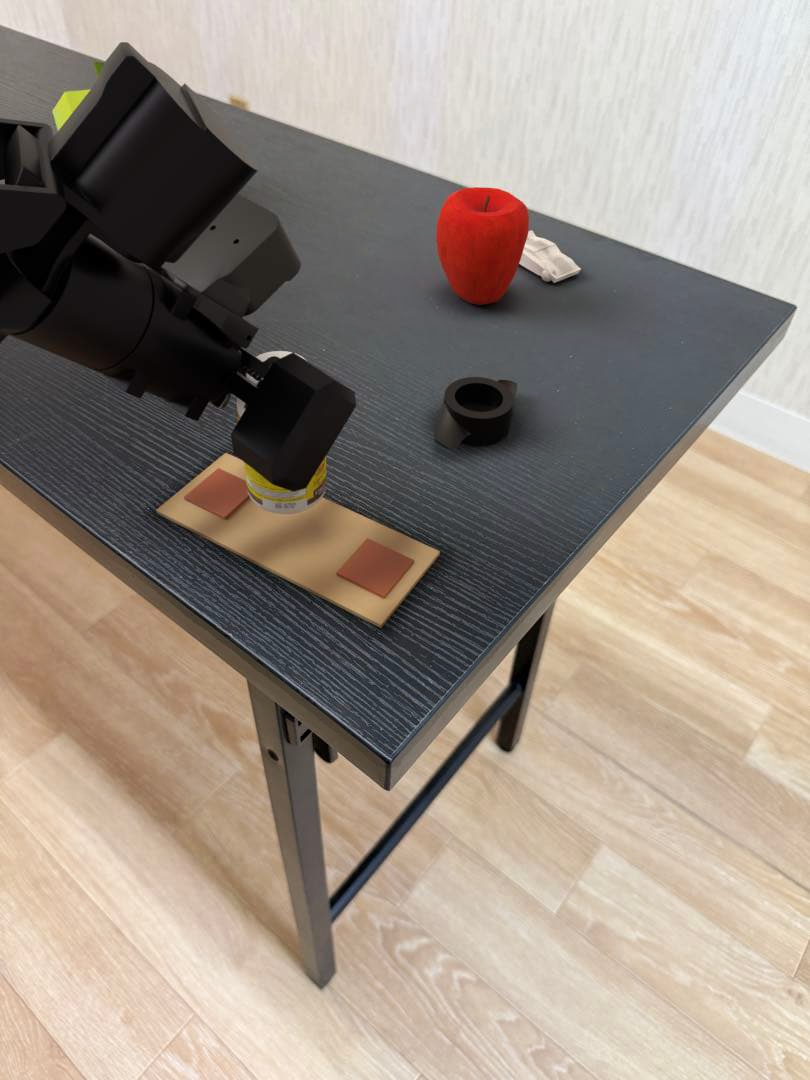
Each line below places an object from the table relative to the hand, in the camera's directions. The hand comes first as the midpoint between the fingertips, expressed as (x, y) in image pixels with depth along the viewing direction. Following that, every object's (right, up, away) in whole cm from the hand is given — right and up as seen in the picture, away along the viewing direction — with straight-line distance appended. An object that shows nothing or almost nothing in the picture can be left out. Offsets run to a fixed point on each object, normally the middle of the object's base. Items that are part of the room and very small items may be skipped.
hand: (298, 407), depth 53 cm
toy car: (+22, +21, +37) cm, 48 cm away
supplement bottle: (-1, -5, +4) cm, 7 cm away
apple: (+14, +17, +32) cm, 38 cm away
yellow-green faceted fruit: (-27, +32, +45) cm, 61 cm away
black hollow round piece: (+13, +1, +17) cm, 21 cm away
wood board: (-1, -8, +7) cm, 11 cm away
